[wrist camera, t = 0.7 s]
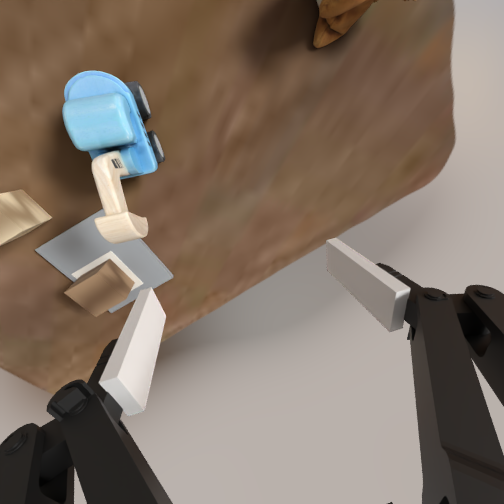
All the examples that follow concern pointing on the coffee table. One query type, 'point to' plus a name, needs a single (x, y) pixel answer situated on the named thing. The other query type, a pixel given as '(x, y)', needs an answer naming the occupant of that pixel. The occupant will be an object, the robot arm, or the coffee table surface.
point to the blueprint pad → (104, 257)
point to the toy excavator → (112, 144)
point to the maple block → (19, 215)
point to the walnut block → (101, 288)
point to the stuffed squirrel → (337, 18)
